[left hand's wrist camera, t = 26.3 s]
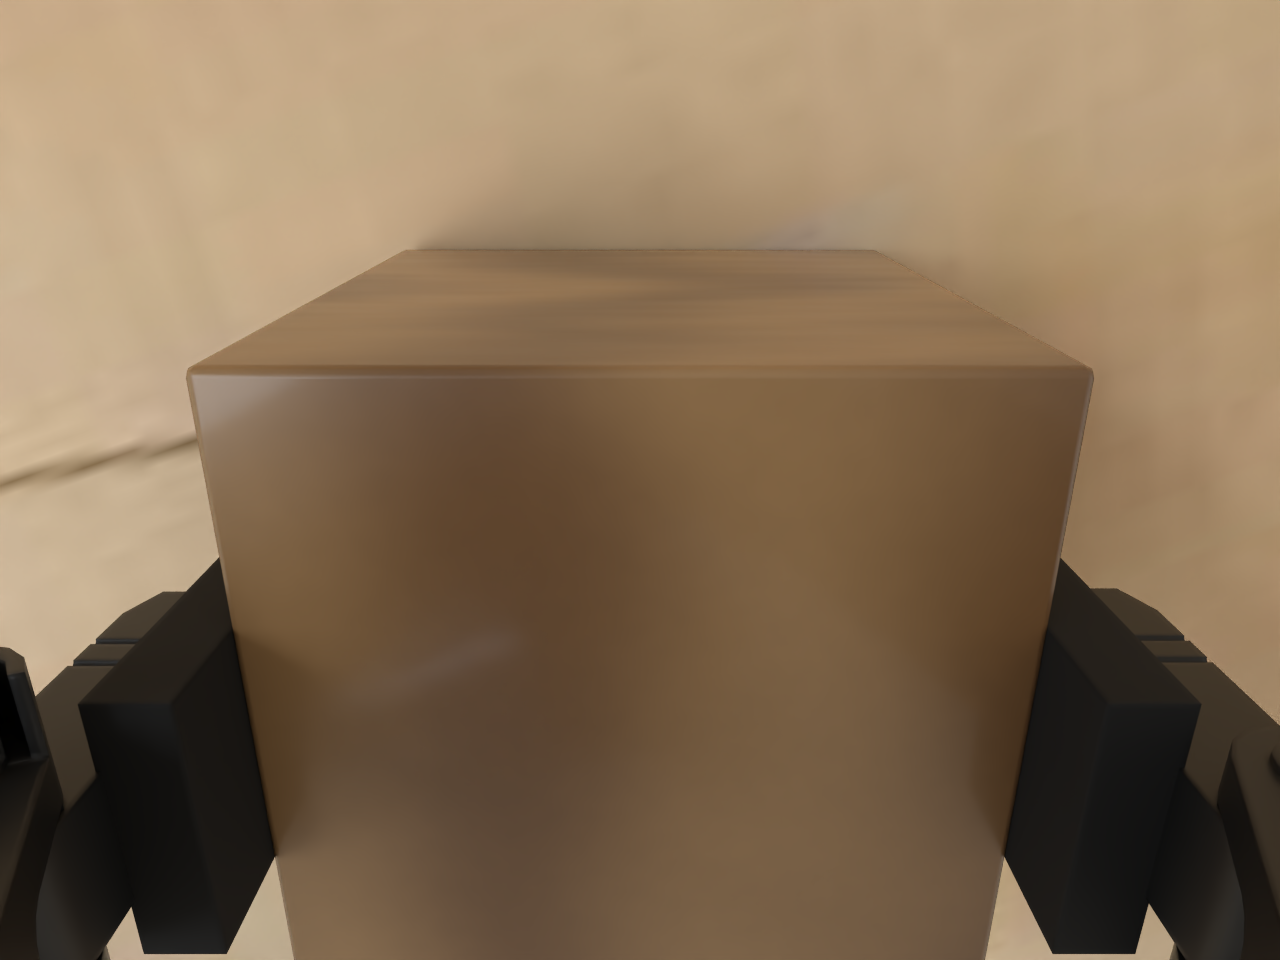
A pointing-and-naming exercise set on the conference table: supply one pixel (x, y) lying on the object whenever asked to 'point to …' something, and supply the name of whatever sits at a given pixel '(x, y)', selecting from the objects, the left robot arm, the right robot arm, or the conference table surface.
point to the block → (639, 601)
